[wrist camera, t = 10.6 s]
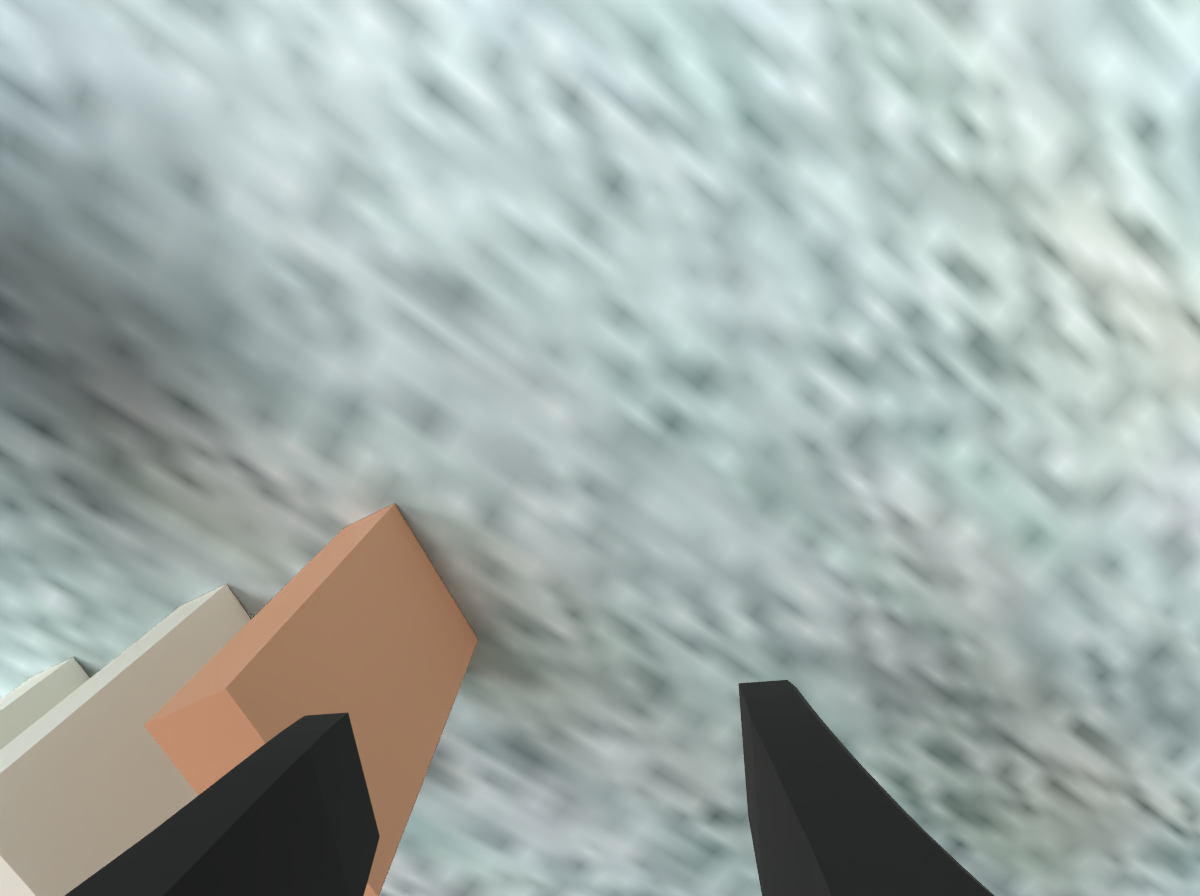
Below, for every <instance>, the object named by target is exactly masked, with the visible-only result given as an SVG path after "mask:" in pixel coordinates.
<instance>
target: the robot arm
mask: <svg viewBox="0 0 1200 896" xmlns="http://www.w3.org/2000/svg"><path fill="white" fill-rule="evenodd" d="M739 695H740V708H741V722H742V736H743V749H744V763H745V777H746V791H747V804H748V816H749V822H750V828H751V834H752V839H753V845H754V851H755V857H756V863H757V868H758V874H759V880H760V885H761V891H762V896H994V895H993V894H992V893H991V892H990V891H989V890H987V889H986V888H985V887H984V886H983V885H982V884H981V883H980V882H979V881H977V880H976V879H975V878H974V877H973V876H972V875H971V874H970V873H969V872H968V871H966V870H965V869H964V868H963V867H962V866H961V865H960V864H959V863H958V862H957V861H956V860H955V859H954V858H953V857H952V856H951V855H949V854H948V853H947V852H946V851H945V850H944V849H943V848H942V847H941V846H940V845H939V844H938V843H937V842H936V841H935V840H934V839H933V838H932V837H931V836H929V835H928V834H927V833H926V832H925V831H924V830H923V829H922V828H921V827H920V826H919V825H918V824H917V823H916V822H915V821H914V820H913V819H912V818H911V817H910V816H909V815H908V814H907V813H906V812H905V811H904V810H903V809H902V808H901V807H900V806H899V805H898V804H897V802H896V801H895V800H894V799H893V798H892V797H891V796H890V795H889V794H888V793H887V792H886V791H885V790H884V789H883V788H882V787H881V786H880V785H879V784H878V782H877V781H876V780H875V779H874V778H873V777H872V776H871V775H870V774H869V773H868V772H867V771H866V770H865V769H864V768H863V767H862V765H861V764H860V763H859V762H858V761H857V760H856V759H855V758H854V757H853V755H852V754H851V753H850V752H849V751H848V750H847V749H846V748H845V746H844V745H843V744H842V743H841V742H840V741H839V739H838V738H837V737H836V736H835V735H834V734H833V733H832V731H831V730H830V729H829V728H828V727H827V725H826V724H825V723H824V722H823V721H822V719H821V718H820V717H819V716H818V715H817V713H816V712H815V711H814V710H813V708H812V707H811V706H810V705H809V703H808V702H807V701H806V700H805V698H804V697H803V696H802V694H801V693H800V692H799V690H798V689H797V688H796V687H795V686H794V685H793V684H791V683H790V682H789V681H788V680H780V681H767V682H753V683H740V684H739ZM379 838H380V835H379V831H378V827H377V823H376V819H375V816H374V812H373V808H372V804H371V800H370V796H369V792H368V788H367V784H366V780H365V776H364V772H363V768H362V764H361V761H360V757H359V753H358V749H357V745H356V741H355V737H354V733H353V729H352V725H351V721H350V717H349V713H348V712H347V713H334V714H320V715H307V716H303V717H302V718H300V719H299V720H297V721H296V722H294V723H293V724H291V725H290V726H288V727H287V728H286V729H284V730H283V731H281V732H280V733H279V734H277V735H276V736H275V737H273V738H272V739H271V740H269V741H268V742H267V743H265V744H264V745H263V746H261V747H260V748H259V749H258V750H256V751H255V752H254V753H252V754H251V755H250V756H248V757H247V758H246V759H245V760H243V761H242V762H241V763H239V764H238V765H237V766H236V767H234V768H233V769H232V770H230V771H229V772H228V773H227V774H225V775H224V776H223V777H222V778H220V779H219V780H218V781H216V782H215V783H214V784H213V785H211V786H210V787H209V788H207V789H206V790H205V791H203V792H202V793H201V794H200V795H198V796H197V797H196V798H194V799H193V800H192V801H191V802H189V803H188V804H187V805H185V806H184V807H183V808H182V809H180V810H179V811H178V812H176V813H175V814H174V815H173V816H171V817H170V818H169V819H167V820H166V821H165V822H163V823H162V824H161V825H160V826H158V827H157V828H156V829H154V830H153V831H152V832H151V833H149V834H148V835H147V836H145V837H144V838H143V839H141V840H140V841H138V842H137V843H136V844H134V845H133V846H132V847H130V848H129V849H127V850H126V851H125V852H123V853H122V854H121V855H119V856H118V857H117V858H115V859H114V860H112V861H111V862H110V863H108V864H107V865H106V866H104V867H103V868H101V869H100V870H99V871H97V872H96V873H95V874H93V875H92V876H91V877H89V878H88V879H86V880H85V881H84V882H82V883H81V884H80V885H78V886H77V887H75V888H74V889H73V890H71V891H70V892H69V893H67V894H66V895H65V896H364V892H365V889H366V886H367V882H368V879H369V875H370V871H371V867H372V864H373V860H374V856H375V853H376V849H377V845H378V841H379Z"/></svg>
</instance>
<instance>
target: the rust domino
mask: <svg viewBox="0 0 1200 896" xmlns="http://www.w3.org/2000/svg"><path fill="white" fill-rule="evenodd" d="M477 642H478V638H477V637H476V635H475V633H474V632H473V630H472V628H471V627H470V625H469V624H468V622H467V620H466V619H465V617H464V615H463V614H462V612H461V611H460V609H459V607H458V606H457V604H456V602H455V601H454V599H453V597H452V596H451V594H450V593H449V591H448V589H447V588H446V586H445V584H444V583H443V581H442V580H441V578H440V576H439V575H438V573H437V571H436V570H435V568H434V566H433V565H432V563H431V562H430V560H429V558H428V557H427V555H426V553H425V552H424V550H423V549H422V547H421V545H420V544H419V542H418V540H417V539H416V537H415V535H414V534H413V532H412V531H411V529H410V527H409V526H408V524H407V522H406V521H405V519H404V518H403V516H402V514H401V513H400V511H399V509H398V508H397V506H396V504H395V503H394V504H392V505H390V506H388V507H386V508H384V509H382V510H380V511H378V512H376V513H374V514H372V515H370V516H368V517H365V518H363V519H361V520H359V521H357V522H355V523H353V524H351V525H349V526H347V527H345V528H344V529H343V530H342V531H341V532H339V533H338V534H337V535H336V536H335V537H334V538H333V539H332V540H331V541H330V542H329V543H328V544H327V545H326V546H325V547H324V548H323V549H322V550H321V551H320V552H319V553H318V554H317V555H316V556H315V557H314V558H313V559H312V560H311V561H310V562H309V563H308V564H307V565H306V566H305V567H304V568H303V569H302V570H301V571H300V572H299V573H298V574H297V575H296V576H295V577H294V578H293V579H292V580H291V581H290V582H289V583H288V584H287V585H286V586H285V587H284V588H283V589H282V590H281V591H280V592H279V593H278V594H277V595H276V596H275V597H274V598H273V599H272V600H271V601H269V602H268V603H267V604H266V605H265V606H264V607H263V608H262V609H261V610H260V611H259V612H258V613H257V614H256V615H255V616H254V617H253V618H252V619H251V620H250V621H249V622H248V623H247V624H246V625H245V626H244V627H243V628H242V629H241V630H240V631H239V632H238V633H237V634H236V635H235V636H234V637H233V638H232V639H231V640H230V641H229V642H228V643H227V644H226V645H225V646H224V647H223V648H222V649H221V650H220V651H219V652H218V653H217V654H216V655H215V656H214V657H213V658H212V659H211V660H210V661H209V662H208V663H207V664H206V665H205V666H204V667H203V668H202V669H200V670H199V671H198V672H197V673H196V674H195V675H194V676H193V677H192V678H191V679H190V680H189V681H188V682H187V683H186V684H185V685H184V686H183V687H182V688H181V689H180V690H179V691H178V692H177V693H176V694H175V695H174V696H173V697H172V698H171V699H170V700H169V701H168V702H167V703H166V704H165V705H164V706H163V707H162V708H161V709H160V710H159V711H158V712H157V713H156V714H155V715H154V716H153V717H152V718H151V719H150V720H149V721H148V722H147V723H146V724H145V725H144V726H145V728H146V729H147V730H148V732H149V733H150V734H151V735H152V737H153V738H154V739H155V741H156V742H157V743H158V744H159V746H160V747H161V748H162V749H163V751H164V752H165V753H166V755H167V756H168V757H169V758H170V760H171V761H172V762H173V764H174V765H175V766H176V767H177V769H178V770H179V771H180V773H181V774H182V775H183V776H184V778H185V779H186V780H187V782H188V783H189V784H190V785H191V787H192V788H193V789H194V791H195V792H196V793H197V794H198V795H200V794H201V793H202V792H203V791H205V790H206V789H207V788H209V787H210V786H211V785H213V784H214V783H215V782H216V781H218V780H219V779H220V778H222V777H223V776H224V775H225V774H227V773H228V772H229V771H230V770H232V769H233V768H234V767H236V766H237V765H238V764H239V763H241V762H242V761H243V760H245V759H246V758H247V757H248V756H250V755H251V754H252V753H254V752H255V751H256V750H258V749H259V748H260V747H261V746H263V745H264V744H265V743H267V742H268V741H269V740H271V739H272V738H273V737H275V736H276V735H277V734H279V733H280V732H281V731H283V730H284V729H286V728H287V727H288V726H290V725H291V724H293V723H294V722H296V721H297V720H299V719H300V718H302V717H303V716H307V715H320V714H334V713H347V712H348V713H349V717H350V721H351V725H352V729H353V733H354V737H355V741H356V745H357V749H358V753H359V757H360V761H361V764H362V768H363V772H364V776H365V780H366V784H367V788H368V792H369V796H370V800H371V804H372V808H373V812H374V816H375V819H376V823H377V827H378V831H379V835H380V838H379V841H378V845H377V849H376V853H375V856H374V860H373V864H372V867H371V871H370V875H369V879H368V882H367V886H366V889H365V892H364V896H379V894H380V892H381V889H382V886H383V884H384V881H385V879H386V876H387V874H388V871H389V868H390V866H391V863H392V861H393V858H394V856H395V853H396V850H397V848H398V845H399V843H400V840H401V838H402V835H403V832H404V830H405V827H406V825H407V822H408V819H409V817H410V814H411V812H412V809H413V807H414V804H415V801H416V799H417V796H418V794H419V791H420V789H421V786H422V783H423V781H424V778H425V776H426V773H427V771H428V768H429V765H430V763H431V760H432V758H433V755H434V752H435V750H436V747H437V745H438V742H439V740H440V737H441V734H442V732H443V729H444V727H445V724H446V722H447V719H448V716H449V714H450V711H451V709H452V706H453V704H454V701H455V698H456V696H457V693H458V691H459V688H460V686H461V683H462V680H463V678H464V675H465V673H466V670H467V667H468V665H469V662H470V660H471V657H472V655H473V652H474V649H475V647H476V644H477Z"/></svg>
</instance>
